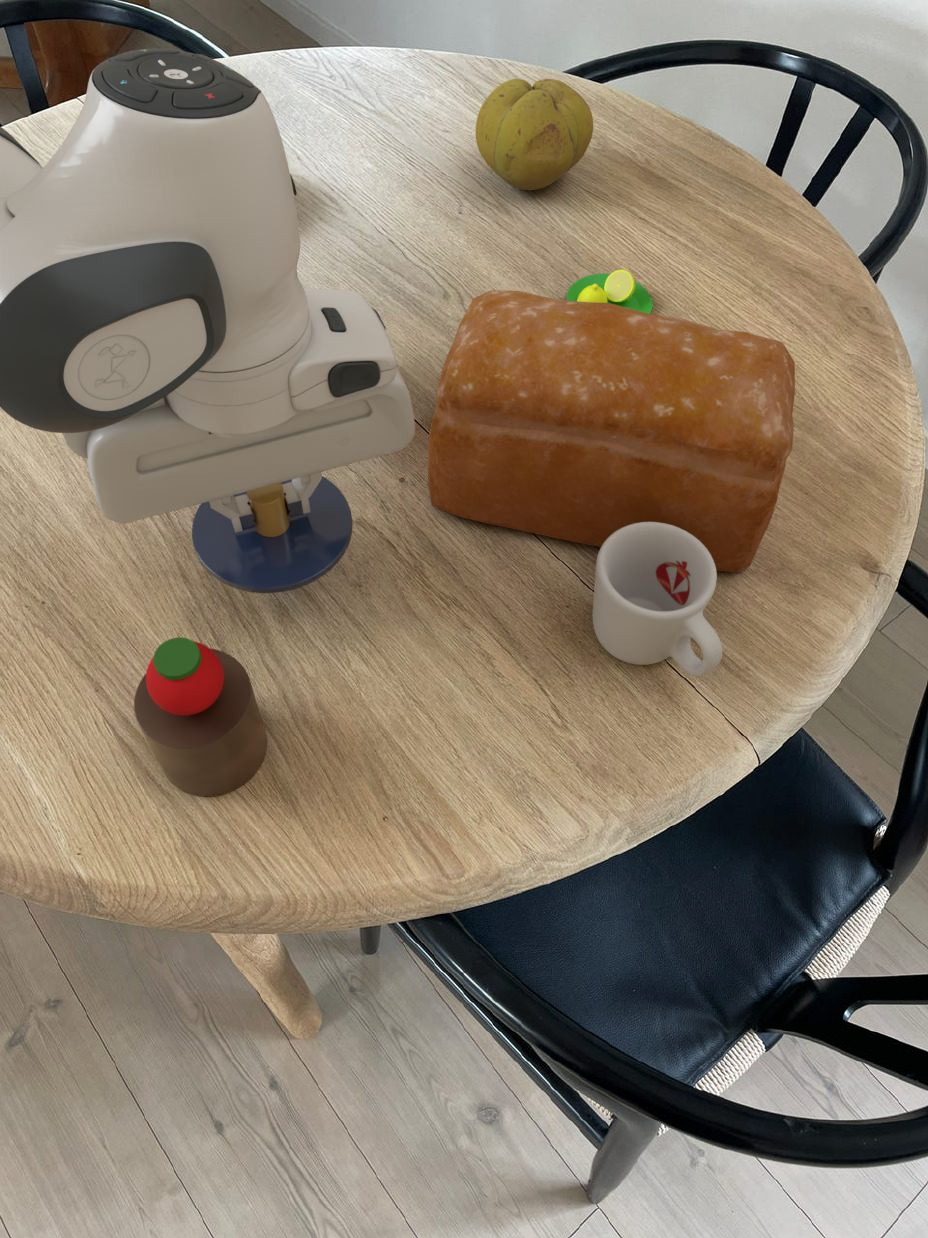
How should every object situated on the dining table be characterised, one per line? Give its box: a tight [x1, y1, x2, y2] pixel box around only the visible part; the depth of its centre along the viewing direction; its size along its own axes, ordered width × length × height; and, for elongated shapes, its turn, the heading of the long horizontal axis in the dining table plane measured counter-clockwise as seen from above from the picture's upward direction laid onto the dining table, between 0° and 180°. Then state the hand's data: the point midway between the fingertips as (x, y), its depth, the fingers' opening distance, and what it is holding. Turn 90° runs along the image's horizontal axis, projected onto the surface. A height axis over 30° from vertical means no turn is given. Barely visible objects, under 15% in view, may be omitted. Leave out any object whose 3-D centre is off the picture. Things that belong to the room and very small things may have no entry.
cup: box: [592, 522, 723, 678], centre depth 67 cm, size 11×8×8 cm
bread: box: [427, 289, 796, 573], centre depth 72 cm, size 14×26×16 cm, turn 76°
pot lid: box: [191, 475, 353, 594], centre depth 66 cm, size 11×11×5 cm
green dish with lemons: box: [566, 269, 653, 314], centre depth 90 cm, size 8×8×3 cm
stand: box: [133, 647, 268, 798], centre depth 62 cm, size 7×7×7 cm
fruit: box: [474, 78, 594, 191], centre depth 98 cm, size 11×12×10 cm
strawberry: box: [145, 637, 224, 715], centre depth 57 cm, size 4×4×5 cm
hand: (270, 515), depth 67 cm, fingers closed on pot lid, 2 cm apart
